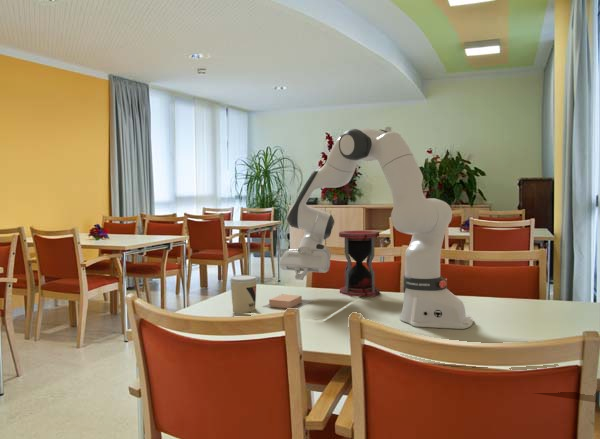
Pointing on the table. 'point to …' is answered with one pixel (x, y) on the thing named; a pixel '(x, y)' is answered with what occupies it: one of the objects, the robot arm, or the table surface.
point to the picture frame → (285, 301)
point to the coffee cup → (243, 293)
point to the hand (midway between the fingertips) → (298, 278)
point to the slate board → (294, 306)
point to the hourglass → (359, 263)
